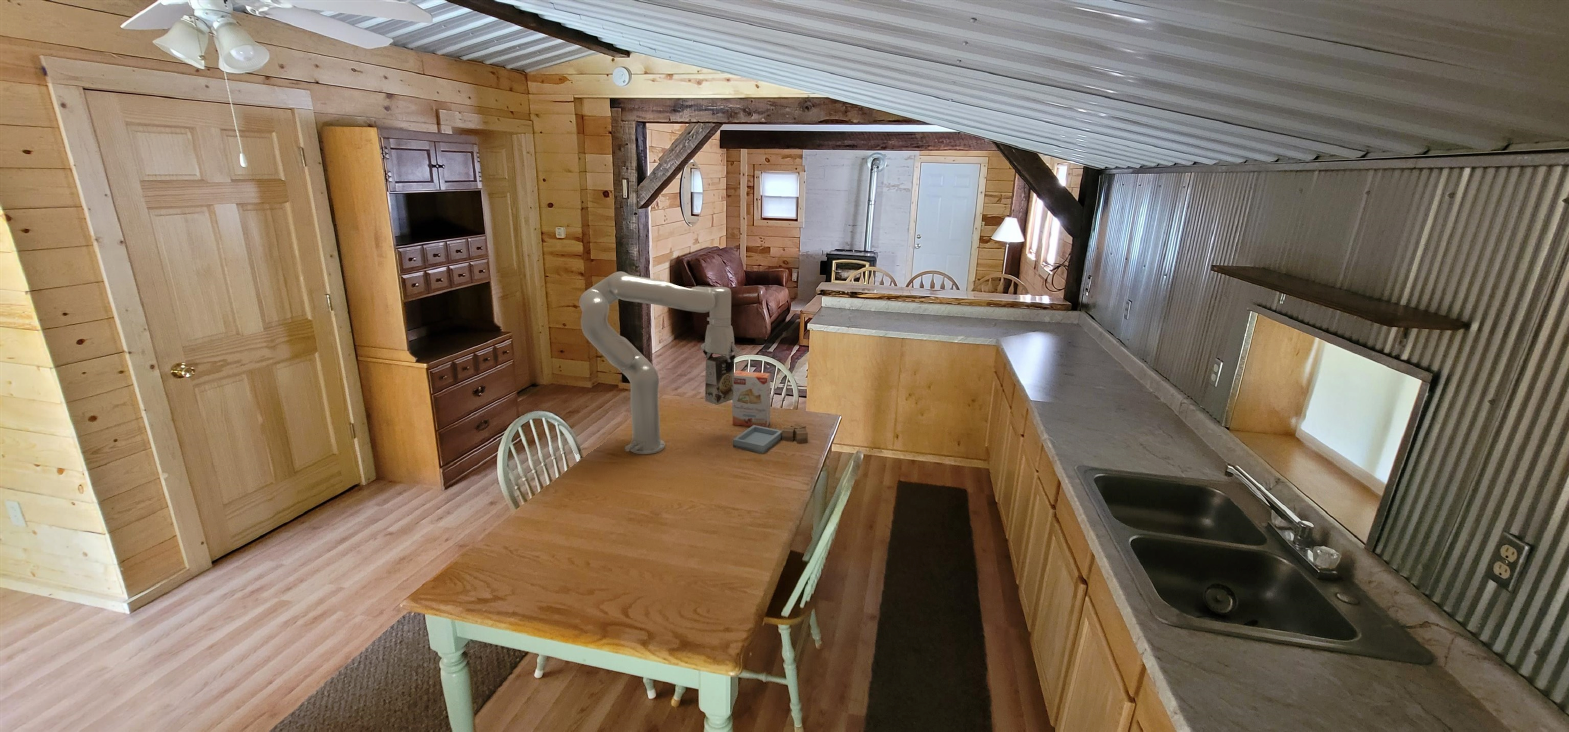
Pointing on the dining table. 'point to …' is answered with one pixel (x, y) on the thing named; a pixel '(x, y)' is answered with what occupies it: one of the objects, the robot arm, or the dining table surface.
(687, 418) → the dining table surface
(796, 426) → the walnut block
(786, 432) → the walnut block
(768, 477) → the dining table surface
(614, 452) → the dining table surface
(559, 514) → the dining table surface
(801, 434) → the walnut block
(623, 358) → the robot arm
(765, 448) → the tray
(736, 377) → the cracker box
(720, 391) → the coffee box
